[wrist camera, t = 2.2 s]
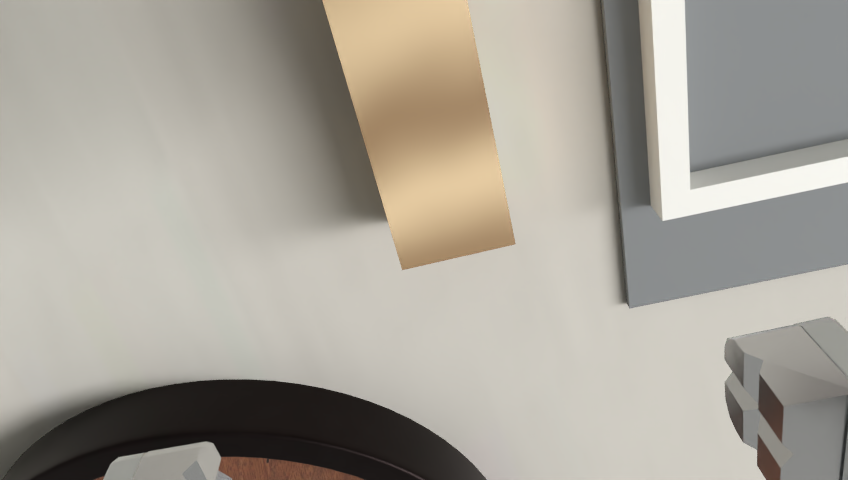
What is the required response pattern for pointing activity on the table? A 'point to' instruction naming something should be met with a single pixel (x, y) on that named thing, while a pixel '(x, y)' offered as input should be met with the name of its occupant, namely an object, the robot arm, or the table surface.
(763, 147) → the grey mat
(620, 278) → the table surface
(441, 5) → the tan wooden bar
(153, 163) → the table surface
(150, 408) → the wall clock
